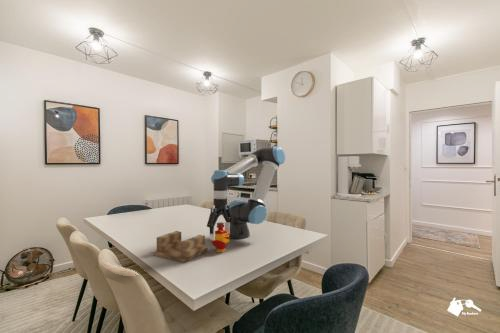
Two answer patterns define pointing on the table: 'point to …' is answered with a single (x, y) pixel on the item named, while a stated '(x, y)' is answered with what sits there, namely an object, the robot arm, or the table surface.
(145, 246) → the table surface
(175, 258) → the notched wooden block
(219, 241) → the potion bottle
